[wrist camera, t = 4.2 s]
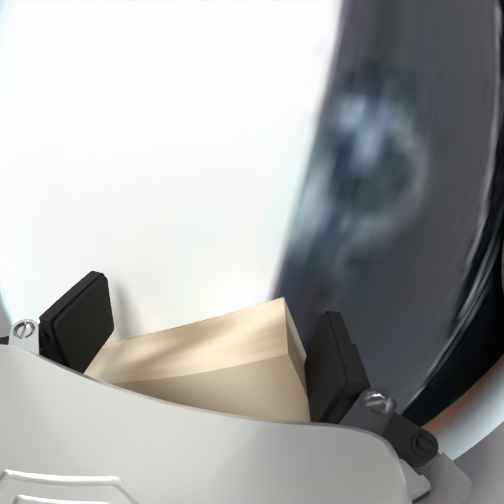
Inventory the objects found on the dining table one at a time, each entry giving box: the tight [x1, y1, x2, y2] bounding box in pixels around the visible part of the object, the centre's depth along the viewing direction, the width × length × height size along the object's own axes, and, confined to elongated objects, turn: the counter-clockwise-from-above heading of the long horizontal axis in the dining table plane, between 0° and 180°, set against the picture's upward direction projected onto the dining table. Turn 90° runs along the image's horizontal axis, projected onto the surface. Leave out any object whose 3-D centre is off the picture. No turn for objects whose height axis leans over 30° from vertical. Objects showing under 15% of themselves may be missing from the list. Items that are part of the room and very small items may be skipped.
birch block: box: [84, 297, 310, 422], centre depth 12 cm, size 12×6×4 cm, turn 111°
